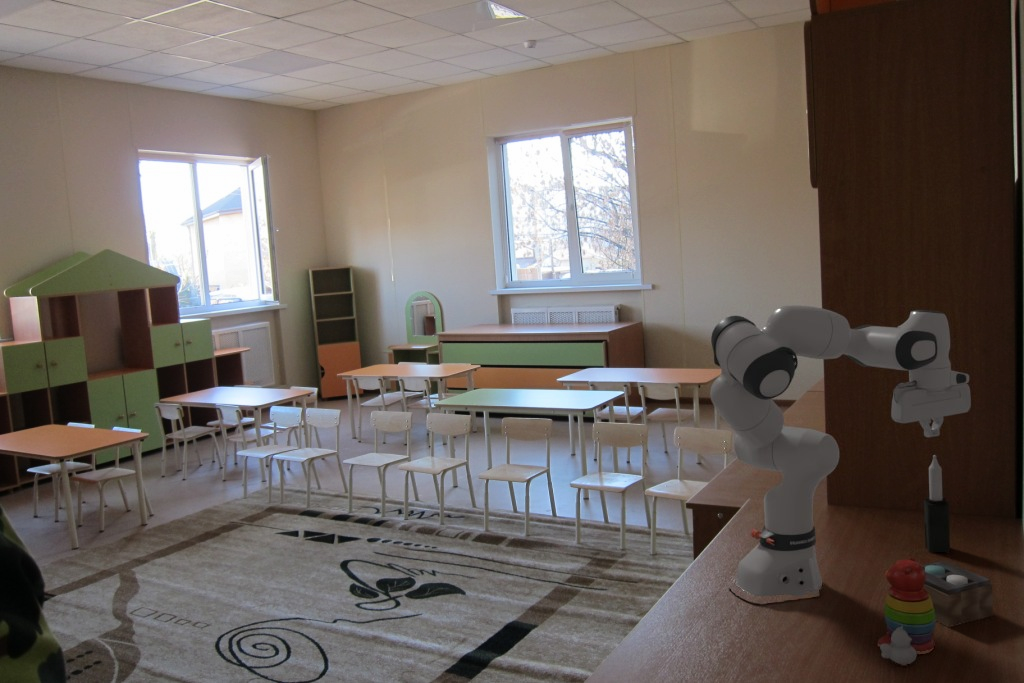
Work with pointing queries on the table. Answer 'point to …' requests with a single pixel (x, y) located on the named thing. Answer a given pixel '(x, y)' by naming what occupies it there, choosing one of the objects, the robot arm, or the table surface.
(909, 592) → the stacking bear
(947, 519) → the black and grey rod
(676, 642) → the table surface
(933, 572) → the teal peg
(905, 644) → the rubber duck
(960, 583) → the grey peg
